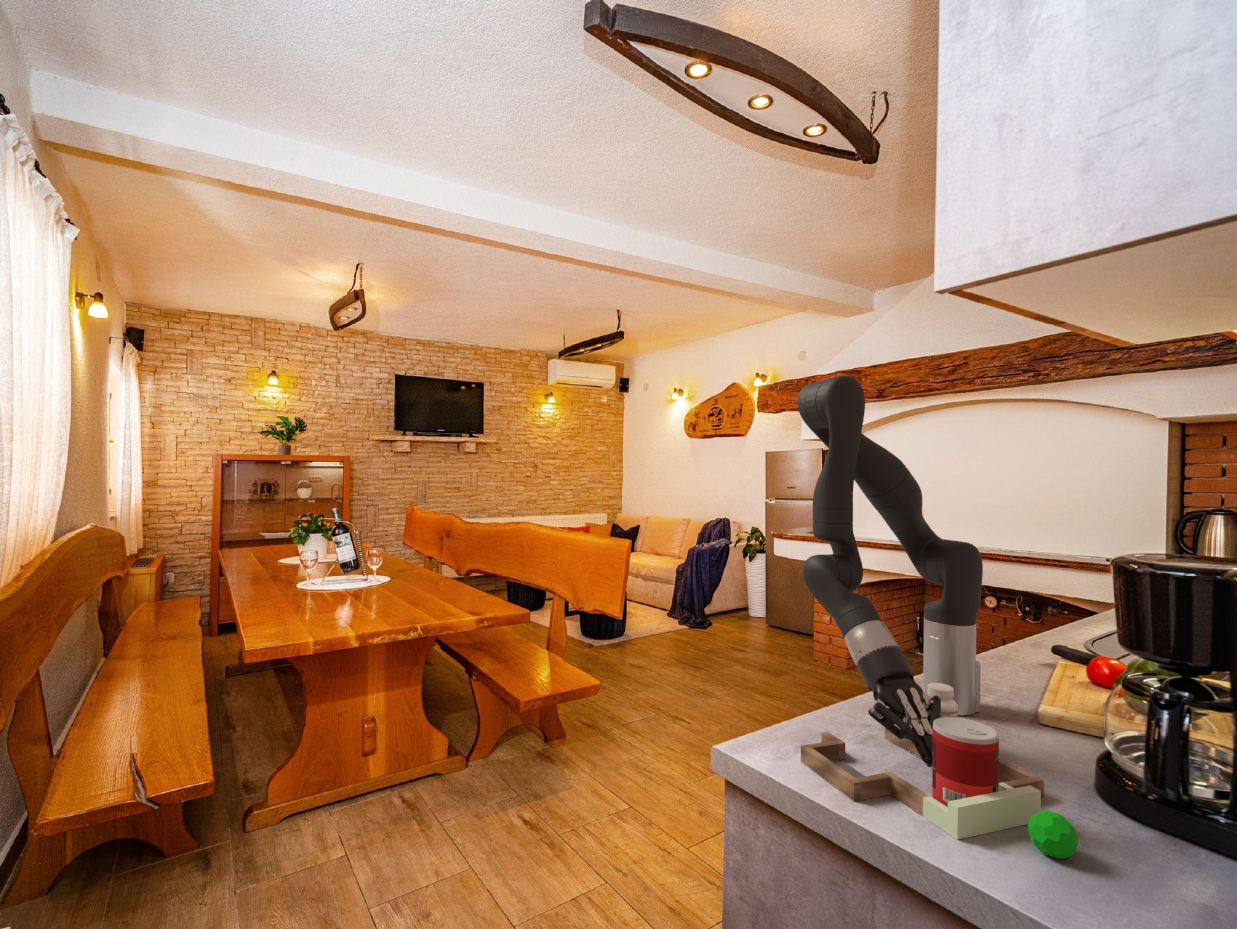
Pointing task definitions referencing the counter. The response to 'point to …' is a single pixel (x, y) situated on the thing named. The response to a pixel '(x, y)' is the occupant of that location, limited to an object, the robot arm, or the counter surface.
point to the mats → (858, 774)
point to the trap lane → (888, 782)
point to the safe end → (984, 811)
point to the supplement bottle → (944, 699)
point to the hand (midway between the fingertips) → (936, 764)
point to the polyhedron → (1053, 834)
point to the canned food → (963, 759)
